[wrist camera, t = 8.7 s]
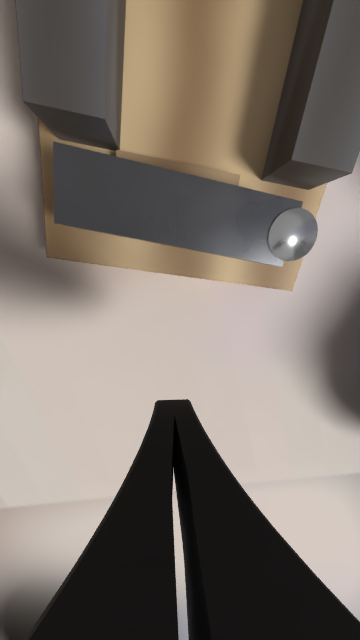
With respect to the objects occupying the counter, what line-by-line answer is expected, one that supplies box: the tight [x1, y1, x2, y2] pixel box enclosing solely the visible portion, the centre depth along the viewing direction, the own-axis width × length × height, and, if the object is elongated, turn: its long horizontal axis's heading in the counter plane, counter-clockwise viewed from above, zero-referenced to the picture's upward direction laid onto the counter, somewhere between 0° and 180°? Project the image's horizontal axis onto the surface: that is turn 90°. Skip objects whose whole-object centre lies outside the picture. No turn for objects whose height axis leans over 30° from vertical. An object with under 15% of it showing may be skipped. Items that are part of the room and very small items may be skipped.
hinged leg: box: [53, 141, 318, 267], centre depth 11 cm, size 12×3×3 cm, turn 80°
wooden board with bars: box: [15, 0, 360, 291], centre depth 10 cm, size 16×20×6 cm
